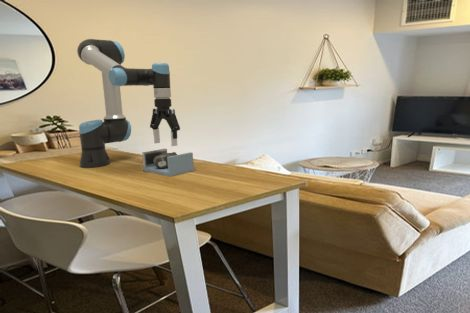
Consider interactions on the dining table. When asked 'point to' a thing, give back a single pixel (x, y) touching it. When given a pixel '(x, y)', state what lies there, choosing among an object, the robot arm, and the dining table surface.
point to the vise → (174, 165)
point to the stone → (162, 160)
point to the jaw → (152, 156)
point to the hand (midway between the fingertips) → (165, 144)
